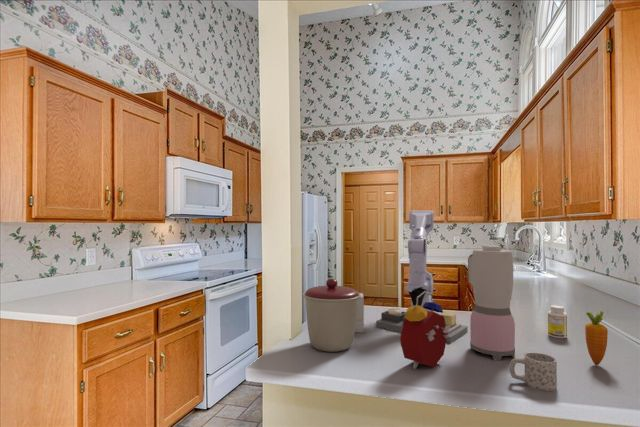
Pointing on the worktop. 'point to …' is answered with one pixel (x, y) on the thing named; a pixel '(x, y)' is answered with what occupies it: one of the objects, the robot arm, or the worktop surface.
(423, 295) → the robot arm
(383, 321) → the control panel
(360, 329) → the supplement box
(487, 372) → the worktop surface
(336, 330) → the canister
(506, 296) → the blender
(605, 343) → the carrot
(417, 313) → the alarm clock
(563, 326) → the supplement bottle
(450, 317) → the pale yellow cube
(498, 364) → the worktop surface
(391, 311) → the cream button
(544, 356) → the mug
